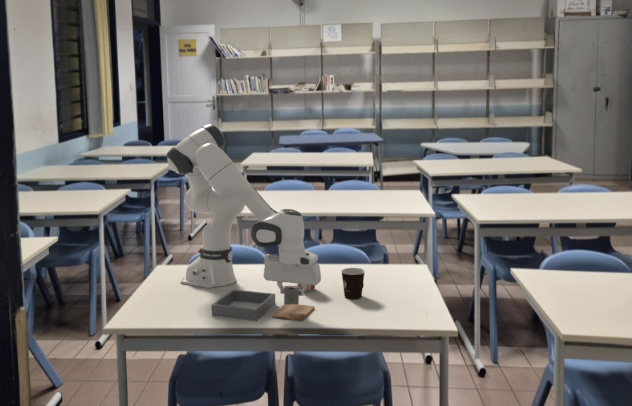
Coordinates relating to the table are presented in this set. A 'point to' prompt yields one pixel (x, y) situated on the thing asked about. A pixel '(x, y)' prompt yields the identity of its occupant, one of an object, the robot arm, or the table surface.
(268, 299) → the bin
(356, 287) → the coffee mug
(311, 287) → the soda can
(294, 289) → the dice cube
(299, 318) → the brown rectangular mat
